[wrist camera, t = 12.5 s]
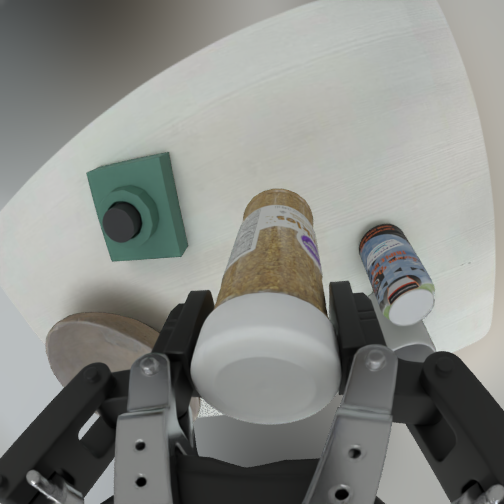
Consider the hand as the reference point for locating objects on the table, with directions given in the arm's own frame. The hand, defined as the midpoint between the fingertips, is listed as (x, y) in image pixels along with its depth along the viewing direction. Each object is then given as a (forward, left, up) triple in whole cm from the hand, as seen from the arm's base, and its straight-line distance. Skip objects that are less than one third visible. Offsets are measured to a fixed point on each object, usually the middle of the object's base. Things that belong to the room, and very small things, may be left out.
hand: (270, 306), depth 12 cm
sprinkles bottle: (0, 0, -10) cm, 10 cm away
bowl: (+26, -26, -25) cm, 44 cm away
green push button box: (+2, -17, -24) cm, 30 cm away
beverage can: (+10, +12, -25) cm, 29 cm away
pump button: (+2, -17, -20) cm, 26 cm away
